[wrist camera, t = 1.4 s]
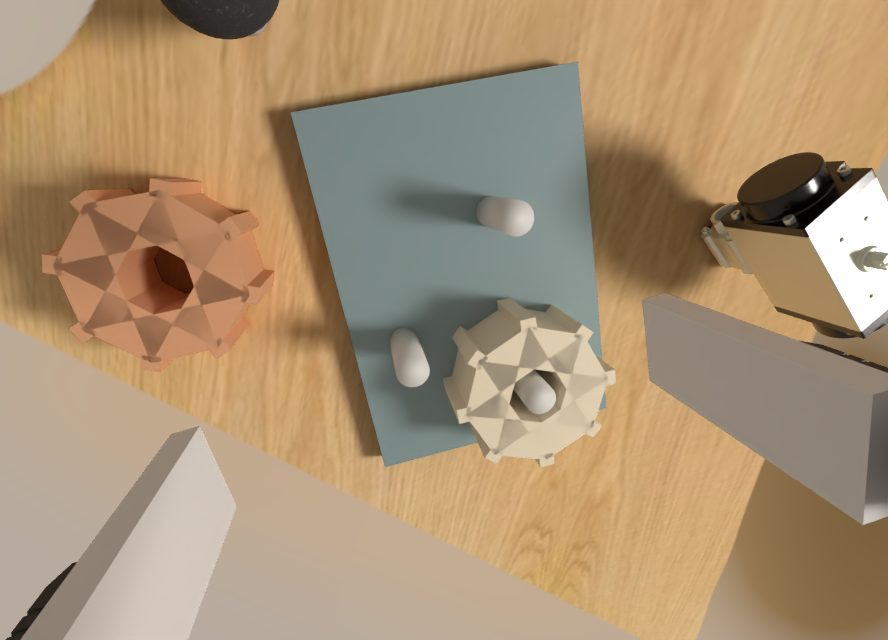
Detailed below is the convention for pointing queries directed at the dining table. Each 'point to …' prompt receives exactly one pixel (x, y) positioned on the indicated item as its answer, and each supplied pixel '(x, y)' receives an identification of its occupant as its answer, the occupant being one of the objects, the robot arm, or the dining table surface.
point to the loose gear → (137, 278)
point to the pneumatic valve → (811, 242)
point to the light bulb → (224, 16)
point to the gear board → (465, 261)
